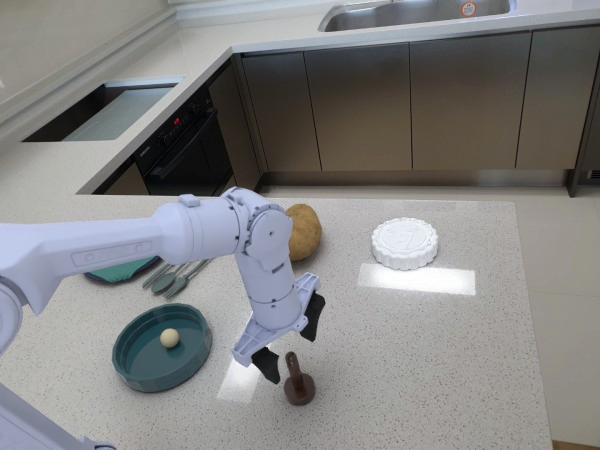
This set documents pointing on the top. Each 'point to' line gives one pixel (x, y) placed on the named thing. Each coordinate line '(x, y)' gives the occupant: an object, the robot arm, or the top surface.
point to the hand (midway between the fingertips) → (291, 358)
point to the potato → (303, 231)
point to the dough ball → (169, 338)
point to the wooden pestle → (298, 383)
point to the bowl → (161, 347)
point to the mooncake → (404, 243)
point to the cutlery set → (133, 267)
